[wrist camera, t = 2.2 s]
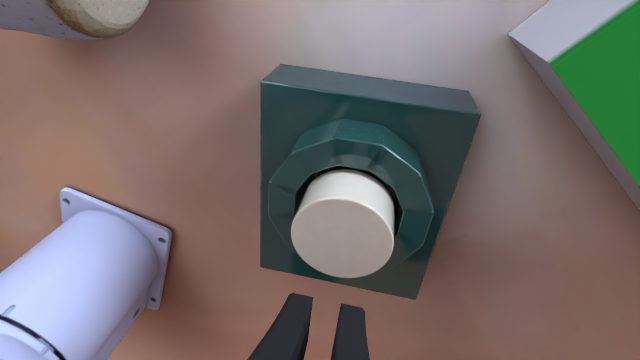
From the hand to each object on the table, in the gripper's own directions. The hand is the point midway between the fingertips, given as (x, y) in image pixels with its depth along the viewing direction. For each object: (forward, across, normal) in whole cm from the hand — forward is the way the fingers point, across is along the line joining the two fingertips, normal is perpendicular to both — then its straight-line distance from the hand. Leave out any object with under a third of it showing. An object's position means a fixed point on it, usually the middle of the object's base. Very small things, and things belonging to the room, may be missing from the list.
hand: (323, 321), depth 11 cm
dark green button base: (+10, 0, +1) cm, 10 cm away
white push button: (+6, 0, 0) cm, 6 cm away
